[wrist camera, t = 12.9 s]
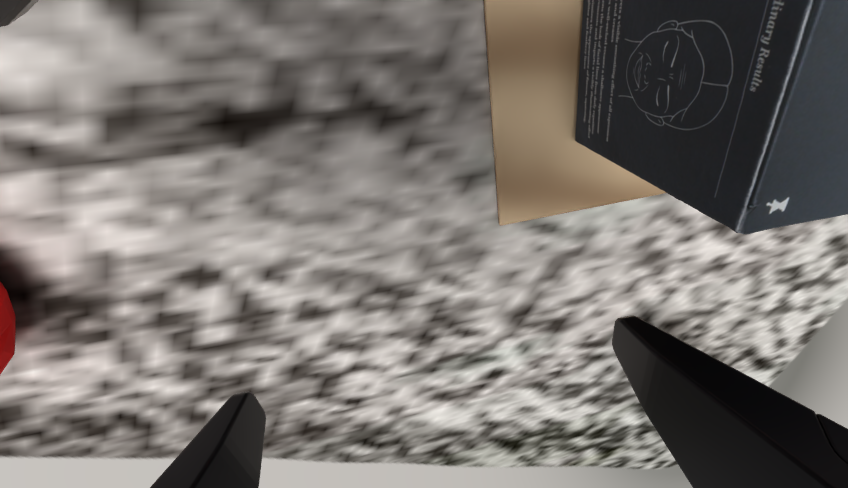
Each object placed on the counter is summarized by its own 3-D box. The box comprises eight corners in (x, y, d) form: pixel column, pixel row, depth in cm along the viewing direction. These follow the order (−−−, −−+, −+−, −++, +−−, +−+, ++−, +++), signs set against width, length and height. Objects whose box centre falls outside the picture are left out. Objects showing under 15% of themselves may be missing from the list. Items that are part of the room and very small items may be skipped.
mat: (473, -146, 14) (475, -149, 14) (785, -206, 14) (792, -210, 14) (498, 223, 22) (500, 225, 22) (694, 184, 22) (697, 186, 22)
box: (674, 123, 20) (919, 206, 11) (570, 141, 20) (731, 241, 11) (712, -63, 16) (1154, -177, 7) (582, -41, 16) (855, -126, 7)
